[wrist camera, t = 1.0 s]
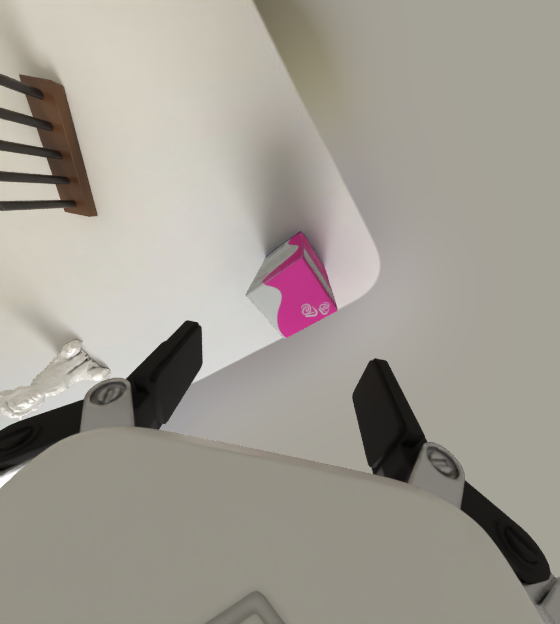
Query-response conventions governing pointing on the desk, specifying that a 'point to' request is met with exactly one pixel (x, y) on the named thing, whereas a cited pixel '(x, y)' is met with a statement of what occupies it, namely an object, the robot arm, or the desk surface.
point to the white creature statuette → (52, 381)
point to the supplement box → (292, 287)
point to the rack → (48, 147)
